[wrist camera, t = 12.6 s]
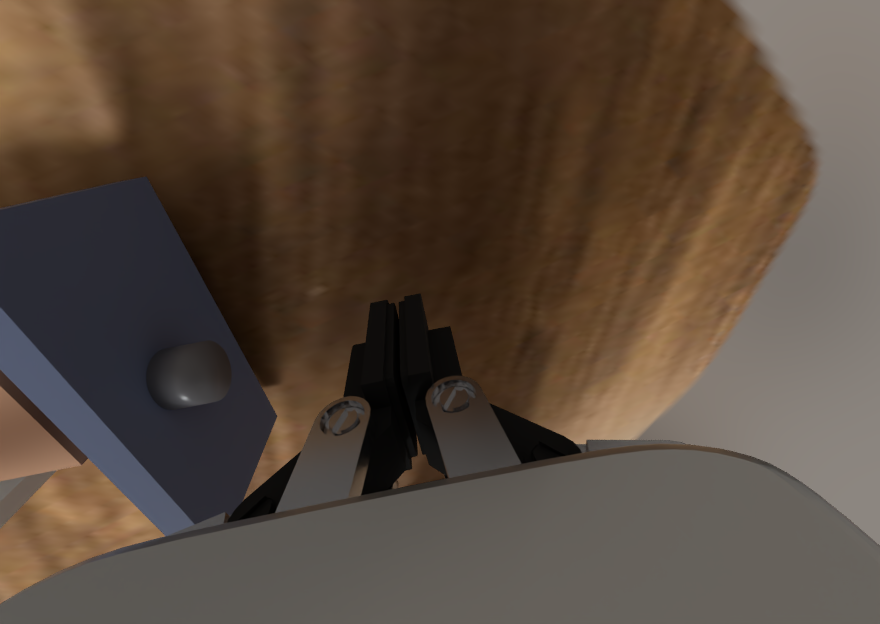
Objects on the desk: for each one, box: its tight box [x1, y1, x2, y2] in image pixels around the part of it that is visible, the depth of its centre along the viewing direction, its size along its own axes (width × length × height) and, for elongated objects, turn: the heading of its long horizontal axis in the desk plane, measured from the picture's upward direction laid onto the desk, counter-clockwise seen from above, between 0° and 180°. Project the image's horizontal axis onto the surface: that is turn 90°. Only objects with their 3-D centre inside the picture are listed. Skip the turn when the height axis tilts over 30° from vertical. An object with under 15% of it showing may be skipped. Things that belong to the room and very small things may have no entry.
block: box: [0, 370, 88, 481], centre depth 15 cm, size 5×5×5 cm
